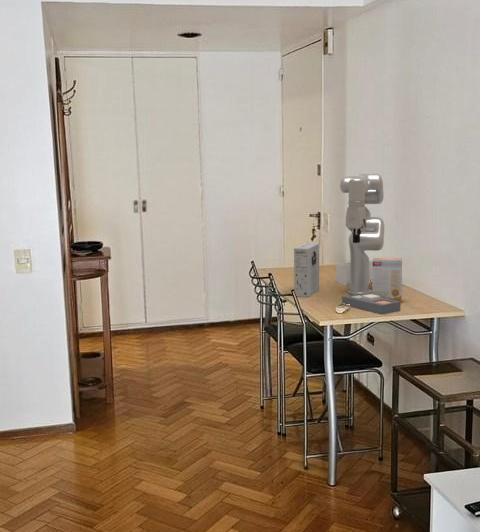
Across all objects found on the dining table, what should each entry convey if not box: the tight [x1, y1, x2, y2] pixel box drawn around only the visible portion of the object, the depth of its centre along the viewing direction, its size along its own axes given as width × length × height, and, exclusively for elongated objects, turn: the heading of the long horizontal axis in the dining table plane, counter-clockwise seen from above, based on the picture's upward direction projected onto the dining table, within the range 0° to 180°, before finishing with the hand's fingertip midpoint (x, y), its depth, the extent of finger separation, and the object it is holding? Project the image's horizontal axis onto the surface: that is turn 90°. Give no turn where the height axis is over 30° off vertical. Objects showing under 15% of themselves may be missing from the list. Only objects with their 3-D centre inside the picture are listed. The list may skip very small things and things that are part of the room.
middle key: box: [362, 293, 380, 301], centre depth 325 cm, size 6×6×2 cm
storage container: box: [335, 259, 373, 286], centre depth 386 cm, size 25×11×11 cm, turn 111°
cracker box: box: [371, 257, 403, 303], centre depth 337 cm, size 14×6×21 cm, turn 77°
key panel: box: [341, 293, 402, 315], centre depth 325 cm, size 26×12×4 cm, turn 35°
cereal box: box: [293, 242, 320, 298], centre depth 359 cm, size 22×8×25 cm, turn 159°
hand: (356, 242), depth 333 cm, fingers closed
